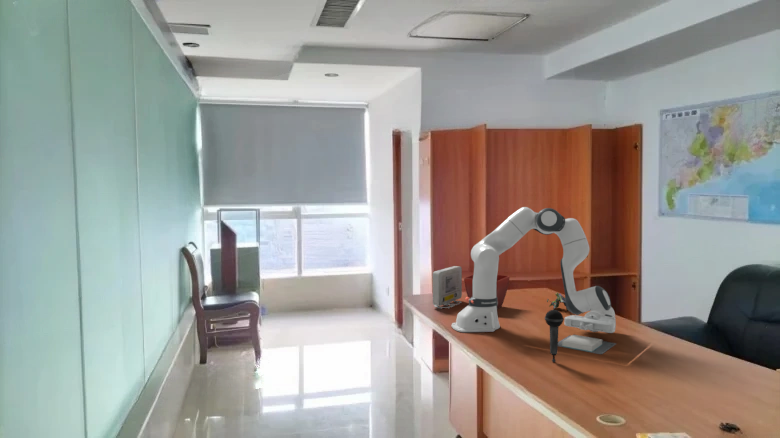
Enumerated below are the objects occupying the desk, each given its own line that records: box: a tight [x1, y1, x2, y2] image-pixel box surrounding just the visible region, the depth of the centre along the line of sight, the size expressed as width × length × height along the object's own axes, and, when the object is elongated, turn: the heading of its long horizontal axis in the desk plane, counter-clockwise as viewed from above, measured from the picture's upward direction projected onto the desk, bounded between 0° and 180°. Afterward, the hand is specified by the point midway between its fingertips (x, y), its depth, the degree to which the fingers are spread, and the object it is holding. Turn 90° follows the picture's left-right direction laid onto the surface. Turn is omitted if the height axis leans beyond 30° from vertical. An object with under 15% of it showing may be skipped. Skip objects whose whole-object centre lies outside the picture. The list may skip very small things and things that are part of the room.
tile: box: [561, 334, 603, 353], centre depth 228 cm, size 2×12×12 cm
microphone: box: [544, 309, 565, 363], centre depth 209 cm, size 7×7×20 cm
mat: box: [558, 334, 617, 355], centre depth 230 cm, size 18×20×1 cm
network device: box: [432, 265, 463, 309], centre depth 307 cm, size 26×9×20 cm, turn 144°
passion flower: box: [546, 292, 568, 311], centre depth 292 cm, size 11×11×12 cm
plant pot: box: [463, 273, 511, 310], centre depth 299 cm, size 19×19×17 cm
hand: (582, 327), depth 228 cm, fingers closed
